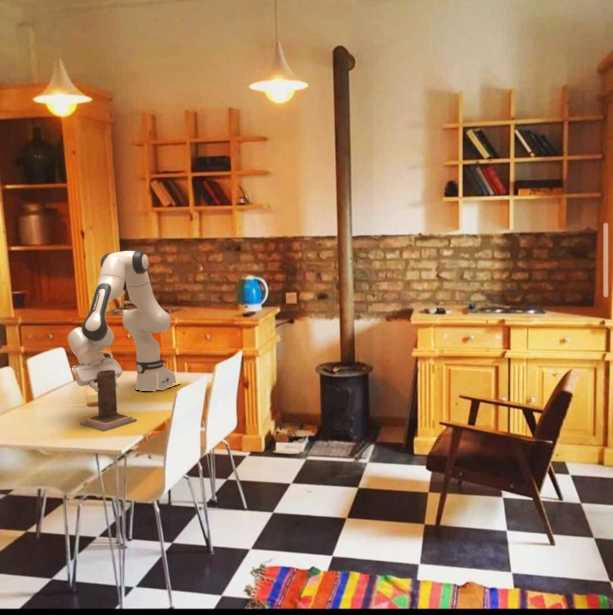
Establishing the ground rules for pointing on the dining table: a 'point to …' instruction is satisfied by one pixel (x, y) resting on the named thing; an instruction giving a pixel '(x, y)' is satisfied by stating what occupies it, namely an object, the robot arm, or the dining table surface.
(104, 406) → the candle
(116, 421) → the plate
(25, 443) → the dining table surface
